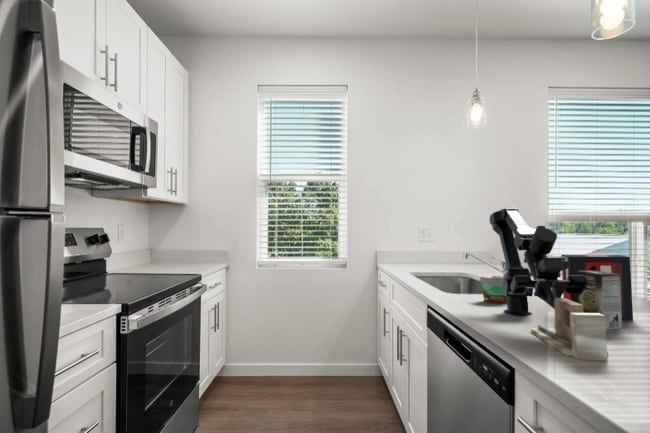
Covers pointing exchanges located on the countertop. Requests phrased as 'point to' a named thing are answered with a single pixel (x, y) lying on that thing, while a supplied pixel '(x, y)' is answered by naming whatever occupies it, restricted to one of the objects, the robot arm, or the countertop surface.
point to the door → (565, 316)
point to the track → (580, 337)
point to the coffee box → (602, 296)
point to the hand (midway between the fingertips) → (559, 310)
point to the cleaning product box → (604, 264)
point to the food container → (493, 290)
